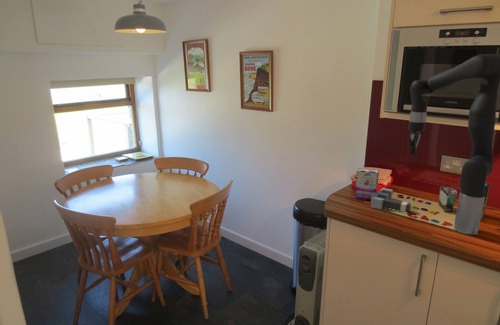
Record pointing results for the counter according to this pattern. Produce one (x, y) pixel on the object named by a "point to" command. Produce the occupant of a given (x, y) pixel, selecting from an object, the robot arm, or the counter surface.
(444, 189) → the food container
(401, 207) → the dark grey bar
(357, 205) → the counter surface
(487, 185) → the coffee box
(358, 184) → the candy bar box
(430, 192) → the counter surface
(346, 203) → the counter surface
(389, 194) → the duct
